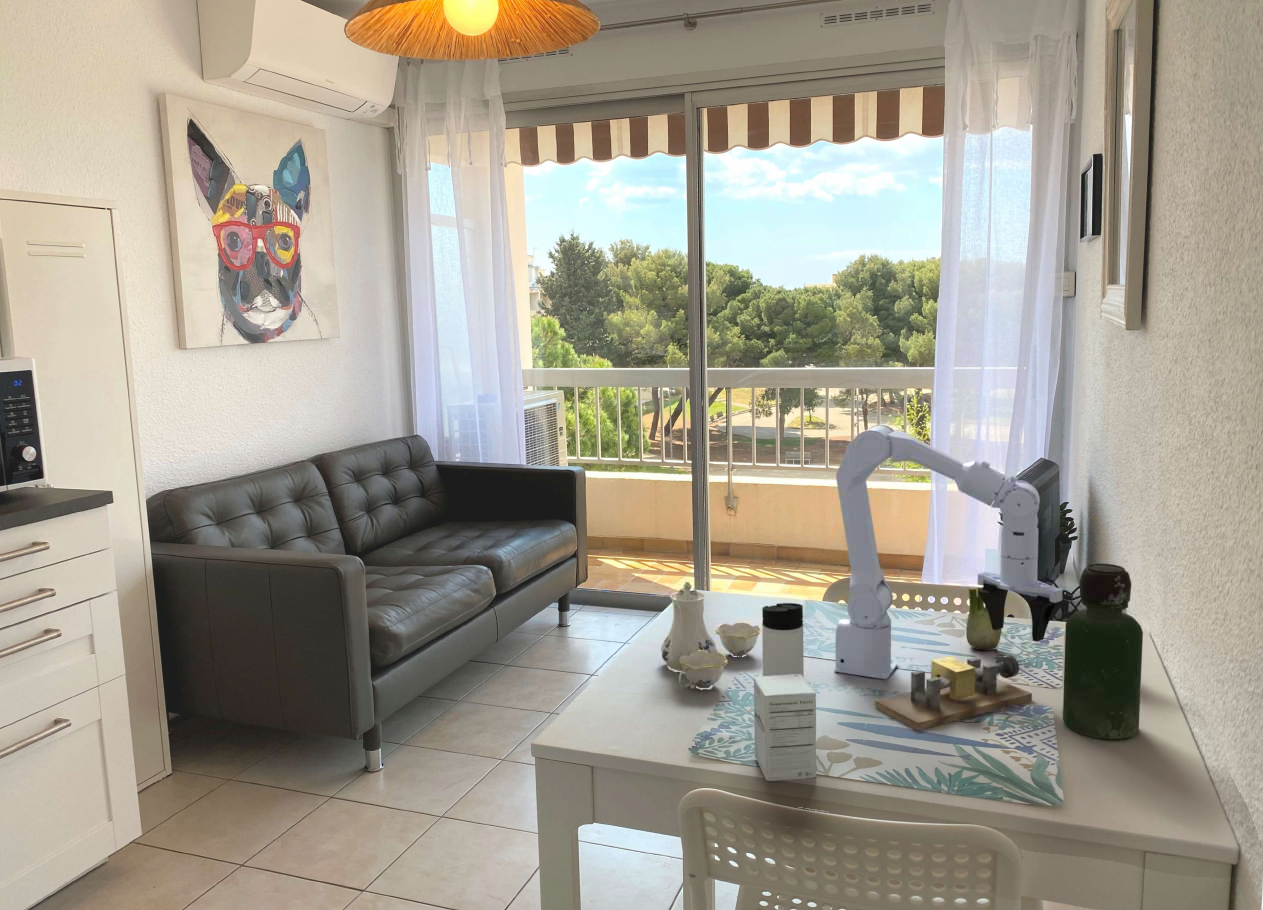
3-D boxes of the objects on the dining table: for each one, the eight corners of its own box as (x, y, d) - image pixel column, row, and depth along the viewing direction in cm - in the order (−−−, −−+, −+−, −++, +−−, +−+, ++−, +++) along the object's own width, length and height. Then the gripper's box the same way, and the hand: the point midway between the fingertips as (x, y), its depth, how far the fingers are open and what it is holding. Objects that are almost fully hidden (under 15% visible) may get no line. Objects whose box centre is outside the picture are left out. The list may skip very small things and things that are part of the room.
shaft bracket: (917, 730, 146) (918, 692, 145) (875, 707, 155) (875, 672, 154) (1031, 700, 156) (1032, 665, 155) (985, 680, 165) (986, 647, 164)
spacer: (955, 700, 152) (956, 672, 151) (930, 687, 157) (931, 660, 156) (974, 695, 154) (975, 667, 153) (949, 682, 159) (950, 656, 158)
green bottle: (1049, 725, 147) (1053, 567, 143) (1084, 707, 153) (1090, 555, 149) (1116, 748, 138) (1123, 580, 135) (1151, 728, 144) (1158, 568, 141)
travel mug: (780, 739, 145) (779, 612, 142) (755, 724, 150) (753, 601, 148) (813, 730, 147) (812, 605, 145) (787, 715, 153) (786, 595, 150)
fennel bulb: (1003, 648, 181) (1004, 586, 180) (993, 655, 178) (994, 592, 176) (973, 642, 185) (974, 582, 183) (962, 649, 181) (963, 587, 180)
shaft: (947, 697, 153) (948, 675, 152) (931, 689, 156) (932, 668, 155) (1018, 679, 159) (1019, 658, 159) (1002, 672, 162) (1002, 652, 162)
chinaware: (724, 710, 160) (732, 616, 157) (632, 689, 166) (638, 598, 163) (764, 655, 186) (771, 574, 183) (683, 639, 192) (689, 560, 189)
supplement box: (753, 758, 139) (752, 675, 137) (803, 755, 139) (803, 672, 137) (764, 782, 131) (763, 695, 130) (817, 778, 132) (817, 691, 130)
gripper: (966, 551, 162) (965, 628, 164) (1045, 567, 150) (1043, 650, 152) (992, 545, 166) (991, 620, 168) (1070, 560, 154) (1068, 641, 156)
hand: (1017, 634), depth 160 cm, fingers open, 7 cm apart
